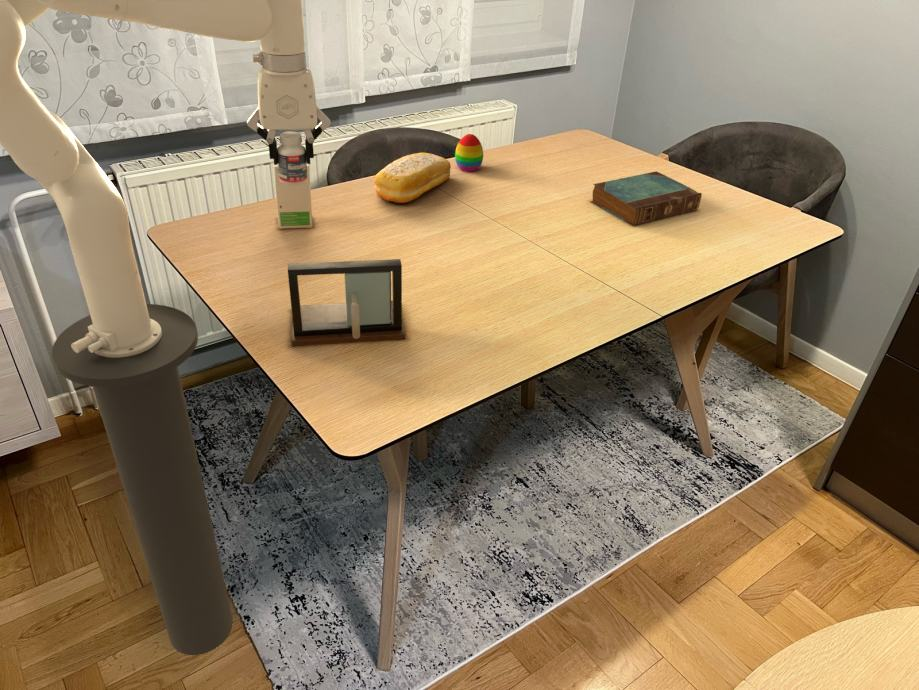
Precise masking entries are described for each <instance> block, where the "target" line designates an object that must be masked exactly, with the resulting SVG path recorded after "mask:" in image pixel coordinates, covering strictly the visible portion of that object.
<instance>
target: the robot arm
mask: <svg viewBox="0 0 919 690" xmlns="http://www.w3.org/2000/svg"><path fill="white" fill-rule="evenodd" d="M50 9H51V10H55V11H59V12H62V13H63V12H64V13H70V14H76V15H83V16H90V17H97V18H103V19H104V18H105V19H110V20H111V19H112V20H117V21H122V22H130V23H136V24H142V25H147V26H152V27H155V28H159V29H166V30H173V31H179V32H183V33H187V34H193V35H198V36H203V37H207V38H208V37H209V38H215V39H221V40H227V41H234V42H235V41H236V42H243V43H253V42H257V41H259V44H260V52H259V53H257V54H252V61H253V63H254V64H258V65H259V64H260V66H261V68H259V69H258V72H257V73H258V74H257V101H258V103H257V104H258V106H257V108H256V109H255V110H254V111H253V113H252V114H251V115H250V117H249V118H248V119H247V121H246V125H247V127H248V128H250V129H251V130H252V131H254V132H256V133H257V135H259V137H261V138H262V139H263V140H264V141H265V142H266V144H268V153H269V154H268V155H269V159H270V160H273V166H274V165H277V164H278V156H277V148H278V142H277V139H276V137H275V136H276V132H277V131H303V133H304V135H305V139H304V147H305V149H306V161H307V164H309V165H311V159H315V155H314V153H315V152H314V143H315V141H316V139H317V138H318V137H320V135H321V134H322V133H323V132H324V131H325V130H326V129H328V128H329V127H330V126H331V119H330V118H329V117H328V116H327V115H326V114H325V112H323V111H322V110H321V109H320V108H319V106H318V105H317V98H316V90H315V84H314V83H315V82H314V79H313V74H312V71H311V69H310V68H309V67H307V57H306V56H307V55H306V54H307V53H306V39H305V25H304V11H303V10H304V9H303V0H0V146H1V147H2V148H3V149H4V150H5V152H7V154H8V155H9V157H11V159H12V161H13V162H14V164H15V165H16V166H17V167H18V168H19V169H20V171H22V172H23V173H25V175H27V176H29V177H30V178H32V179H34V180H36V181H37V182H38V183H39V184H40V186H42V188H43V189H44V190H45V191H46V192H47V193H48V194H49V196H51V198H52V199H53V201H54V203H55V204H56V207H57V210H58V212H59V213H60V216H61V219H62V221H63V224H64V226H65V231H66V233H67V237H68V242H69V246H70V249H71V253H72V258H73V261H74V264H75V269H76V271H77V273H78V274H77V275H78V278H79V280H80V284H81V288H82V291H83V294H84V298H85V301H86V306H87V308H88V313H89V315H90V316H91V319H92V323H93V324H92V325H90V326H88V330H89V333H87V334H86V335H85V336H86V337H84V338H82V339H80V340H78V341H76V342H74V343H72V344H71V347H72V349H73V350H74V351H75V352H76V353H79V352H81V351H83V350H84V349H86V348H87V347H88V350H89V351H90V352H91V353H93V352H94V353H96V354H98V355H100V356H104V357H110V358H122V357H129V356H133V355H137V354H140V353H142V352H145V351H147V350H149V349H150V348H152V347H153V346H154V345H156V344H157V343H158V341H159V340H160V338H161V336H162V331H161V327H160V325H159V324H158V323H157V322H156V321H154V320H152V319H150V318H149V314H148V309H147V305H146V304H147V301H146V297H145V293H144V289H143V285H142V280H141V275H140V272H139V271H140V270H139V267H138V262H137V259H136V256H135V255H136V253H135V250H134V246H133V245H134V244H133V242H132V235H131V229H130V221H129V215H128V210H127V207H126V203H125V201H124V199H123V197H122V195H121V193H120V192H119V191H118V189H117V187H116V186H115V185H114V183H113V182H112V181H111V180H110V178H109V177H108V175H107V174H106V172H105V171H104V170H103V169H102V167H100V165H99V164H98V162H97V161H96V160H95V159H94V158H93V157H92V155H91V154H90V153H89V152H88V150H87V149H86V148H85V147H84V145H83V144H82V143H81V142H80V140H79V139H78V138H77V137H76V135H75V134H74V133H73V132H72V130H71V129H70V128H69V126H67V124H66V122H64V121H63V119H61V117H60V116H58V114H57V113H55V112H53V111H51V110H49V109H47V108H46V106H45V105H44V104H43V102H41V100H40V99H39V97H38V96H37V95H36V93H35V92H34V90H33V89H32V88H31V87H30V86H29V85H28V83H27V82H26V80H25V79H24V78H23V77H22V76H21V73H20V70H19V58H20V55H21V53H22V51H23V49H24V46H25V44H26V41H27V39H26V38H27V32H26V27H27V26H29V25H31V23H33V22H34V21H36V20H37V19H39V18H40V17H41V16H42V15H43V14H45V13H46V12H47V11H49V10H50ZM318 120H319V121H320V122H319V123H318ZM258 122H260V123H258Z"/></svg>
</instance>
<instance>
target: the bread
mask: <svg viewBox="0 0 919 690" xmlns="http://www.w3.org/2000/svg"><path fill="white" fill-rule="evenodd" d="M451 168H452V166H451V162H450V161H449V160H448V159H446V158H445V157H442V156H439V155H437V154H433V153H430V152H429V153H428V152H418V153H412V154H406V155H405V156H401V157H400V158H397V159H395V160H394V161H392V162H391V163H389V164H388V165H386V166H385V167H383V168H382V169H381V170H379V172H377V173H376V174H375V177H374V185H375V186H374V192H375V194H376V196H377V197H379V198H380V199H381V200H383V201H385V202H388V203H390V202H393V203H396V204H407V203H410V202H412V201H414V200H416V199H418V198H419V197H420V196H422V195H423V194H424V193H426V192H429V191H430V190H432V189H433V188H436V187H438V186H440V185H441V184H442V183H445V181H447V180H449V178H450V176H451Z"/></svg>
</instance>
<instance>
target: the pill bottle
mask: <svg viewBox="0 0 919 690" xmlns="http://www.w3.org/2000/svg"><path fill="white" fill-rule="evenodd" d="M302 142H303V137H302V134H301V133H300V132H298V131H284V132H281V133H280V134H279V143H280V145H278V146H277V156H278V168H279V179H280V181H281V182H282V183H283V184H287V185H300V184H303V183H305V182H306V181H307V162H306V147H305V145H303V144H302Z"/></svg>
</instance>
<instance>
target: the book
mask: <svg viewBox="0 0 919 690" xmlns="http://www.w3.org/2000/svg"><path fill="white" fill-rule="evenodd" d="M592 184H593V186H594V187H593V190H592V200H591V201H590V203H592V204H594V205H596V206H597V207H599V208H601V209H603V210H604V211H606V212H607V213H609V214H611V215H613V216H614V217H616V218H618V219H619V220H621V221H624V222H625V223H627V224H629V225H630V226H632V227H633V226H638V225H642V224H645V223H646V224H647V223H650V222H655V221H658V220H662V219H666V218H670V217H674V216H678V215H682V214H687V213H691V212H696V211H698V209H699V207H700V203H701V200H702V195H703V194H702V192H698V191H696V190H695V189H693V188H692V187H690V186H687V185H685V184H683V183H681V182H679V181H677V180H675V179H673V178H671V177H669V176H667V175H666V174H663V173H661V172H659V171H651V172H646V173H641V174H637V175H632V176H627V177H626V176H625V177H621V178H616V179H612V180H611V179H610V180H607V181H602V182H597V183H592Z"/></svg>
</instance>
